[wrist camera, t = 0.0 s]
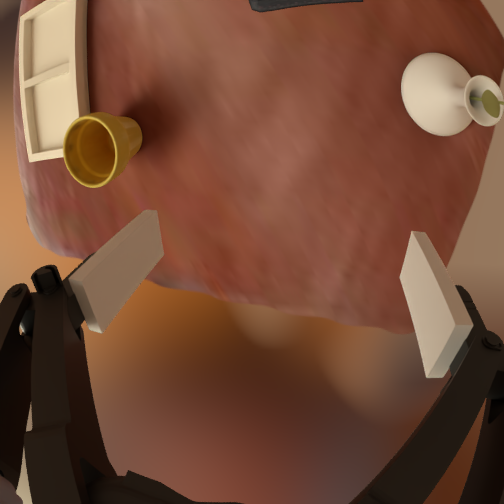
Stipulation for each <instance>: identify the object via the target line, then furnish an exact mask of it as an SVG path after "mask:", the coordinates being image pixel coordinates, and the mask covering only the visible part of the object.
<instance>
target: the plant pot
mask: <svg viewBox="0 0 504 504" xmlns="http://www.w3.org/2000/svg"><path fill="white" fill-rule="evenodd" d="M141 144H142V132H141V129H140V127H139V125H138V124H137V122H136V121H134V120H133V119H131V118H129V117H120V116H113V115H111V114H109V113H105V112H96V113H91V114H87V115H84V116H81V117H79V118H77V119H76V120H75V121H73V122H72V123H71V125H70V126H69V128H68V129H67V131H66V134H65V137H64V141H63V156H64V161H65V164H66V166H67V169H68V170H69V172H70V174H71V175H72V176H73V177H74V179H76V180H77V181H78V182H79V183H80V184H82V185H84V186H87V187H91V188H97V187H101V186H103V185H105V184H107V183H109V182H110V181H112V180H113V179H115V178H116V177H117V176H119V175H120V174H121V173H122V172H123V170H124V169H125V167H126V166H127V163H128V161H129V160H130V159H131V158H132V157H133V156H134V155H135V154H136V153H137V152H138V150H139V149H140V147H141Z"/></svg>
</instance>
